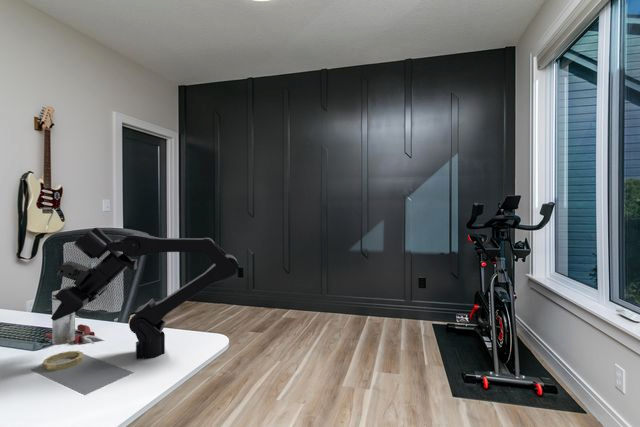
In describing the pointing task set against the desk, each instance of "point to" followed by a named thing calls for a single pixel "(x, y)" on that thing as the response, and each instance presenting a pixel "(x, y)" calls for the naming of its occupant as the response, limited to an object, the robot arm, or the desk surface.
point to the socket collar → (64, 365)
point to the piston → (62, 325)
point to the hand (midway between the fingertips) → (57, 316)
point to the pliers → (82, 336)
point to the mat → (85, 374)
